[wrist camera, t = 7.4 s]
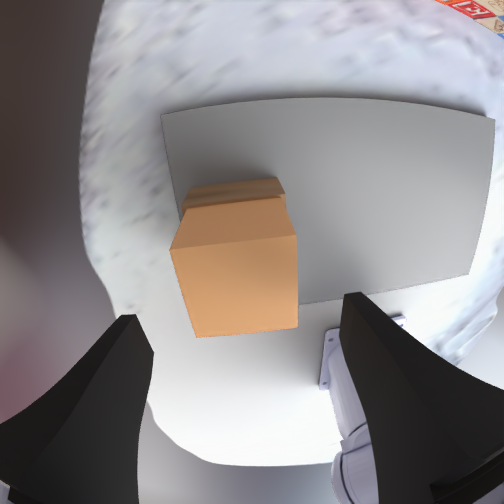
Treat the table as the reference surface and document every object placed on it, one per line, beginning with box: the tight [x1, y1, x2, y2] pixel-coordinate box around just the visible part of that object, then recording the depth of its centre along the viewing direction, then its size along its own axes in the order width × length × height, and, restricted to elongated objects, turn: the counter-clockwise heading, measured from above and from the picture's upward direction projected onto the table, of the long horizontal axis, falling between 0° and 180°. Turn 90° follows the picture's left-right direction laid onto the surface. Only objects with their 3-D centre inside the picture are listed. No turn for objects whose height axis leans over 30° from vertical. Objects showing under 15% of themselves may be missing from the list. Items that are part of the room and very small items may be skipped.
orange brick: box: [170, 197, 298, 338], centre depth 13 cm, size 4×4×4 cm
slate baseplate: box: [161, 98, 495, 305], centre depth 17 cm, size 14×24×1 cm, turn 96°
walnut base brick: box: [181, 177, 287, 217], centre depth 16 cm, size 5×5×3 cm
